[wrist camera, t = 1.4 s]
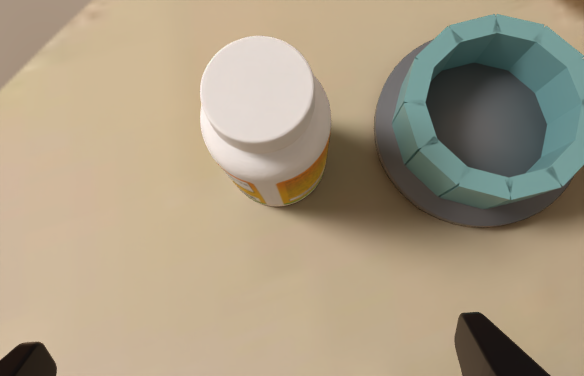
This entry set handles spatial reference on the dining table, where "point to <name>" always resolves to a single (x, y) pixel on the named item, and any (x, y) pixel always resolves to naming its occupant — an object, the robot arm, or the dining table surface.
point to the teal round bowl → (484, 121)
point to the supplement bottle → (265, 119)
